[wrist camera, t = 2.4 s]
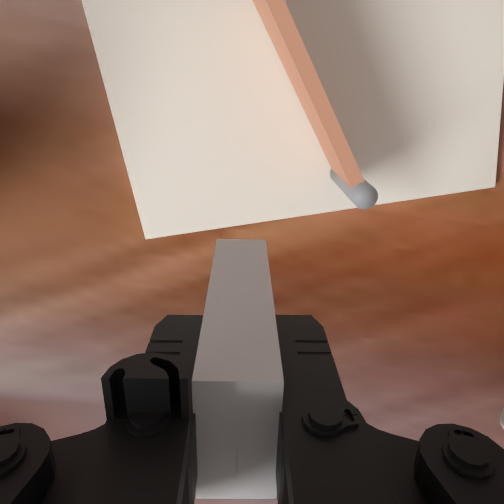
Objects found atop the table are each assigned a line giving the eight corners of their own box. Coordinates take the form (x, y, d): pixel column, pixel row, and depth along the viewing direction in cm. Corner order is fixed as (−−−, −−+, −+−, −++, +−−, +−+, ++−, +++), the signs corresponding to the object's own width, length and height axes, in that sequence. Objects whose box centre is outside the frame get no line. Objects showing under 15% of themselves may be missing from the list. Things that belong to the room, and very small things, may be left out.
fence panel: (245, -3, 25) (246, -30, 19) (265, -16, 25) (273, -47, 19) (334, 186, 29) (358, 213, 23) (352, 176, 29) (381, 202, 23)
